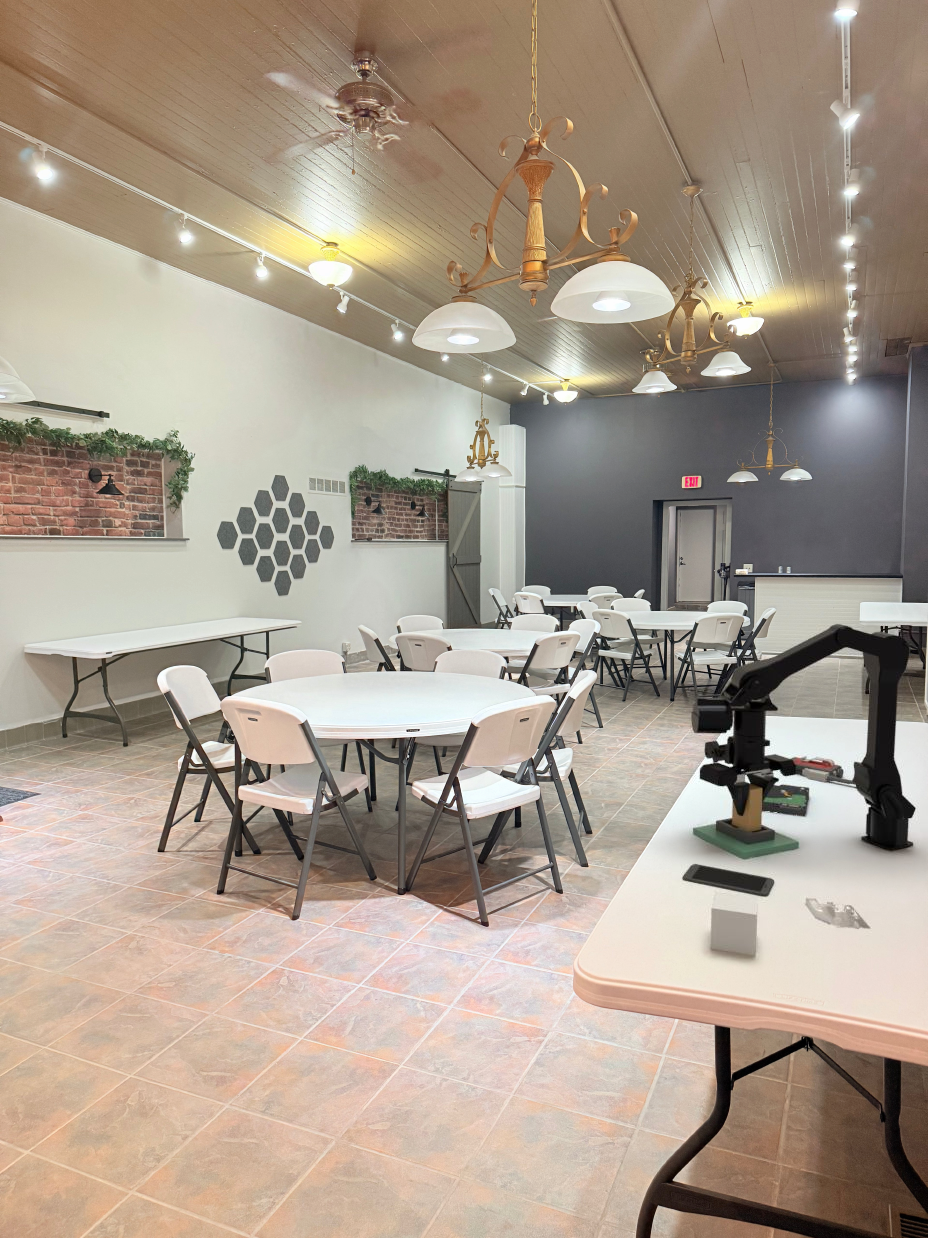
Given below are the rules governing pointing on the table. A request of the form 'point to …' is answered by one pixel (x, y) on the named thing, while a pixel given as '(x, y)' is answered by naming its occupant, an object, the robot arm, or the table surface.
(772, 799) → the disk drive
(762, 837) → the board
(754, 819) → the plug
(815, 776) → the red and grey actuator
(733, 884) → the cell phone
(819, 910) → the stamped metal plate
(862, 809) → the table surface
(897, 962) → the table surface
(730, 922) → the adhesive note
